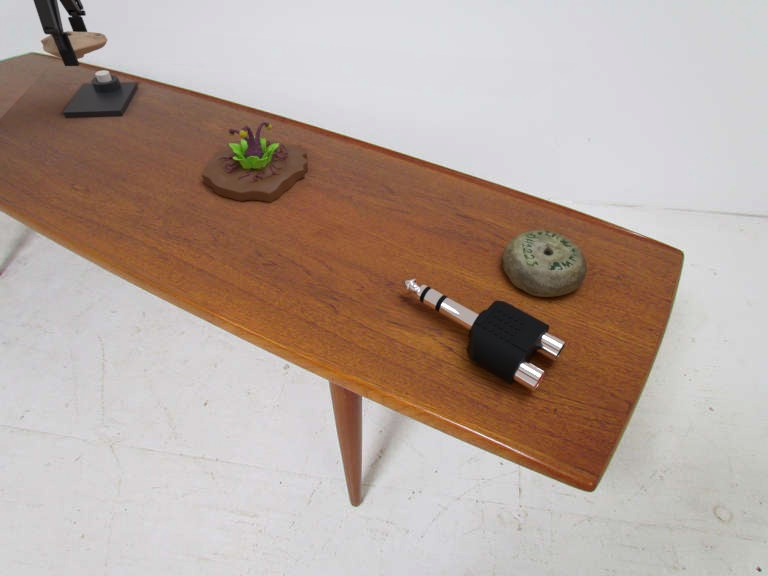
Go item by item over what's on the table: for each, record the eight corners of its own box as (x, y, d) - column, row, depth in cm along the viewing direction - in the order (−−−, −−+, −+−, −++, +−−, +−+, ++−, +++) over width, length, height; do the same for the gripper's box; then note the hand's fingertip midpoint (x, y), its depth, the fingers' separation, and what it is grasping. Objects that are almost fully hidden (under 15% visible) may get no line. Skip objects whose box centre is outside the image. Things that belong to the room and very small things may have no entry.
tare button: (96, 83, 124) (93, 75, 123) (100, 78, 127) (97, 70, 125) (110, 83, 125) (106, 75, 123) (113, 78, 127) (110, 70, 126)
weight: (570, 312, 77) (580, 290, 73) (488, 282, 81) (493, 259, 78) (590, 261, 85) (600, 239, 82) (515, 236, 90) (521, 213, 86)
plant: (187, 190, 98) (171, 138, 90) (236, 143, 111) (226, 94, 103) (280, 210, 94) (271, 157, 86) (320, 158, 107) (315, 108, 99)
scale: (65, 118, 118) (58, 104, 115) (87, 88, 129) (81, 75, 127) (122, 116, 119) (117, 102, 117) (138, 87, 131) (134, 73, 128)
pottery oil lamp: (114, 56, 110) (91, 30, 104) (66, 79, 111) (40, 56, 104) (106, 29, 113) (83, 3, 107) (59, 52, 114) (33, 28, 107)
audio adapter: (536, 380, 61) (379, 287, 72) (526, 403, 65) (379, 312, 76) (573, 328, 67) (424, 250, 78) (562, 352, 71) (421, 274, 82)
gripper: (32, -78, 102) (78, 39, 118) (-17, -54, 86) (43, 77, 102) (70, -78, 102) (111, 38, 118) (28, -54, 87) (81, 76, 103)
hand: (79, 56), depth 110 cm, fingers closed on pottery oil lamp, 9 cm apart
